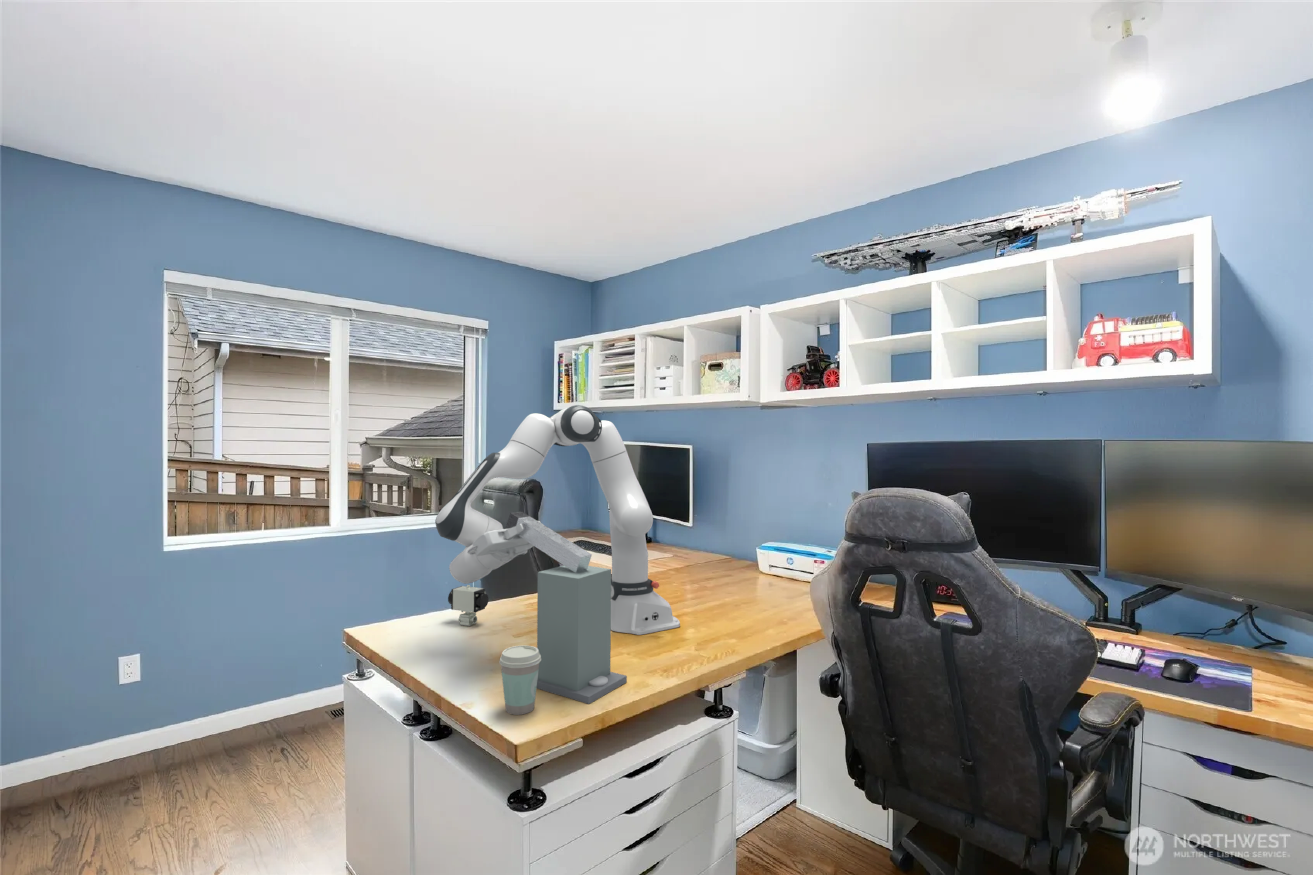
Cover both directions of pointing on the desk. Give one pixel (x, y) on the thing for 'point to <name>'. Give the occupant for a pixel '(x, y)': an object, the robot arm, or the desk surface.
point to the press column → (575, 633)
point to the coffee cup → (520, 678)
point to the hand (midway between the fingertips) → (531, 525)
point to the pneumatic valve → (468, 602)
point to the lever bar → (551, 542)
